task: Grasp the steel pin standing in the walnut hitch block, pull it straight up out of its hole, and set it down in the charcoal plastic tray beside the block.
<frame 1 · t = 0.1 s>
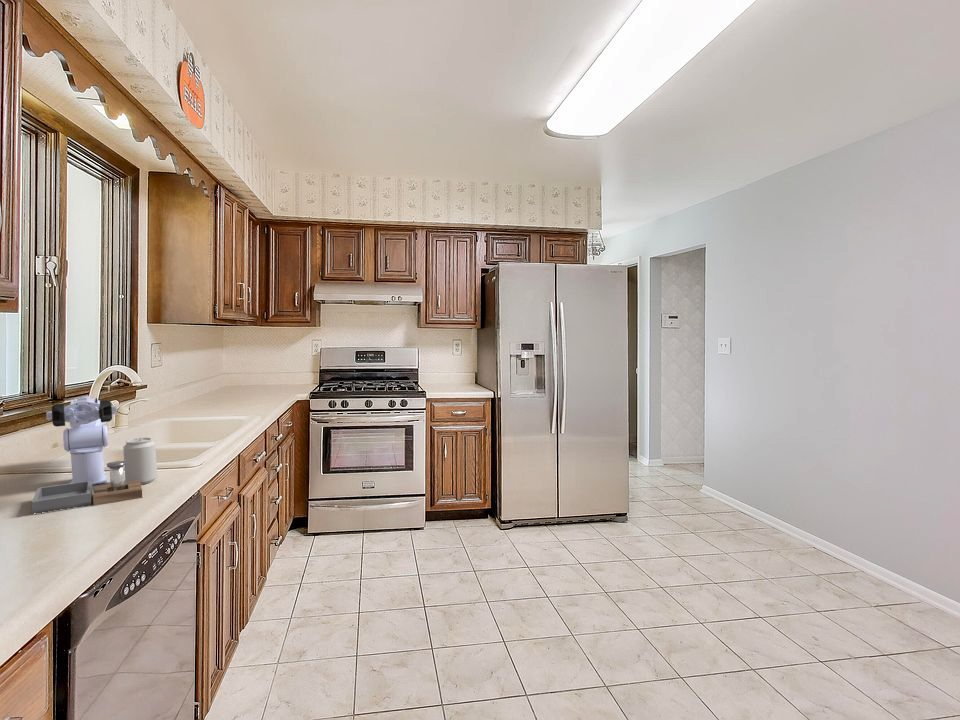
hand: (81, 414, 132), 22 cm above the countertop, tool horizontal, fingers open, 7 cm apart
tray: (64, 502, 133), on the countertop
can: (141, 482, 149), on the countertop
pin: (117, 479, 137), in the hitch block
hitch block: (118, 496, 137), on the countertop
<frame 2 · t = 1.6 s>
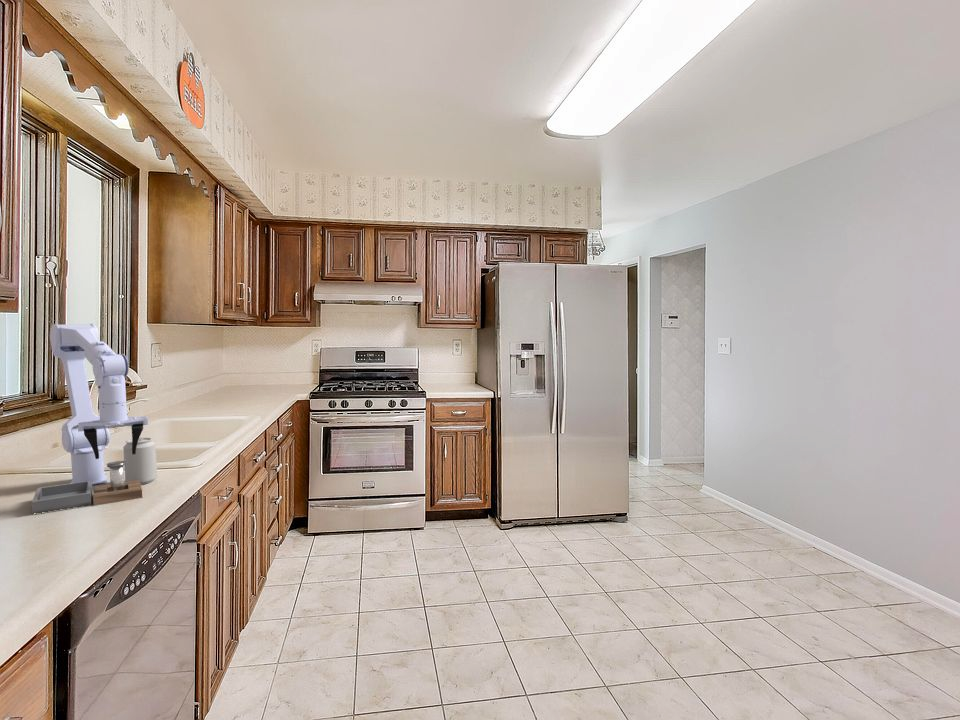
hand: (115, 455, 136), 10 cm above the countertop, tool pointing down, fingers open, 7 cm apart
nothing on the countertop moved.
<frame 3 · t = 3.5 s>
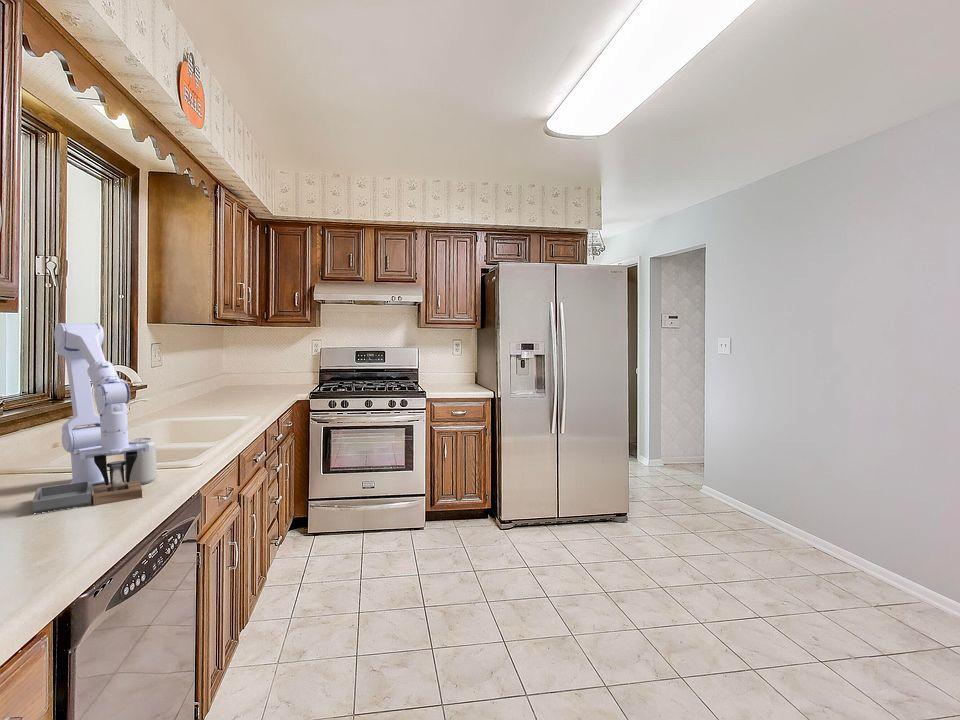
hand: (117, 482, 137), 3 cm above the countertop, tool pointing down, fingers closed on pin, 4 cm apart
pin: (117, 479, 137), in the hitch block, touching gripper
everything else where it was.
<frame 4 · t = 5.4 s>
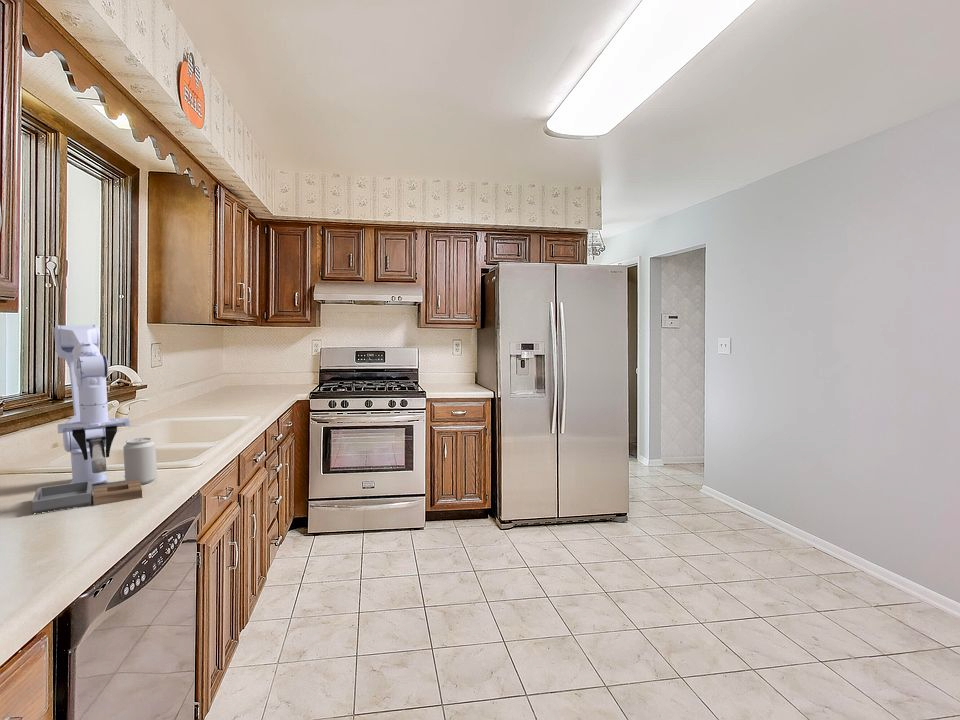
hand: (96, 457, 135), 10 cm above the countertop, tool pointing down, fingers closed on pin, 4 cm apart
pin: (97, 454, 135), point 11 cm above the countertop, touching gripper
everything else where it was.
when the fingers open (5 cm above the countertop, at t = 7.5 s): pin drops 1 cm, resting on tray.
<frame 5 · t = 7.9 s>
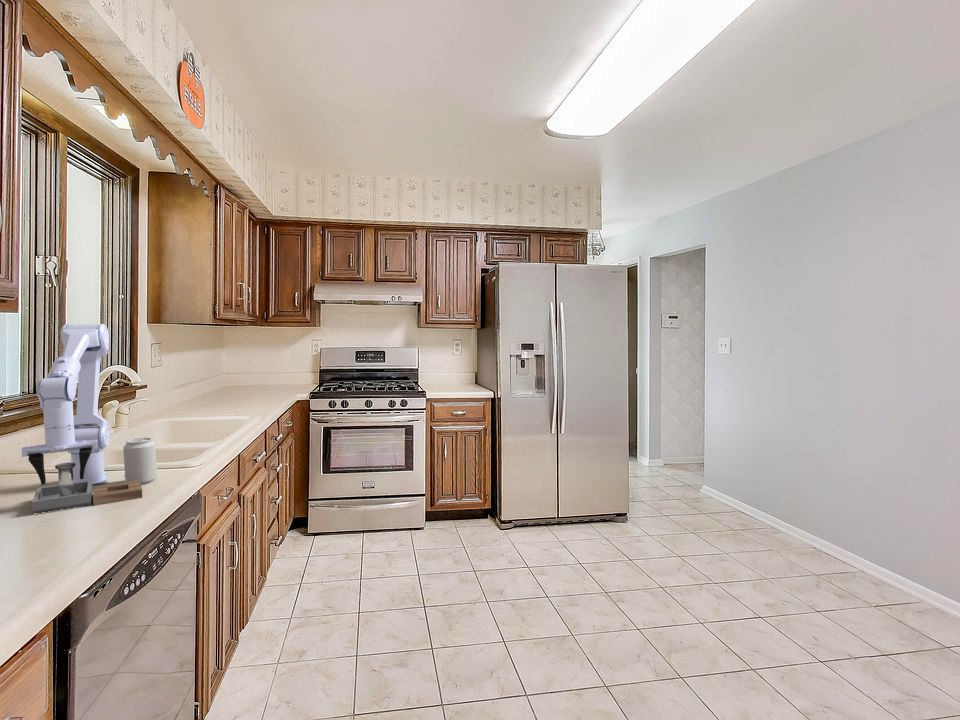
hand: (63, 480, 132), 5 cm above the countertop, tool pointing down, fingers open, 7 cm apart
pin: (66, 481, 132), in the tray, point 5 cm above the countertop
everything else where it was.
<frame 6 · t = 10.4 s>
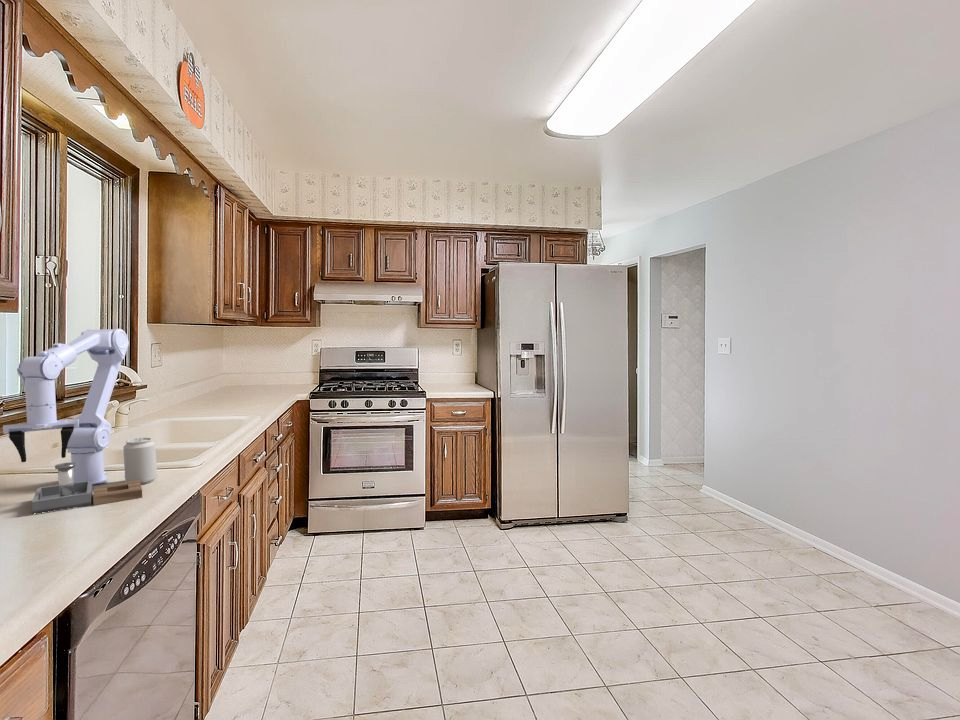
hand: (44, 459, 133), 10 cm above the countertop, tool pointing down, fingers open, 7 cm apart
nothing on the countertop moved.
at the end: pin inside the target area on the tray (0.6 cm from its centre), point 5.1 cm above the tray's base; the gripper is holding nothing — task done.
